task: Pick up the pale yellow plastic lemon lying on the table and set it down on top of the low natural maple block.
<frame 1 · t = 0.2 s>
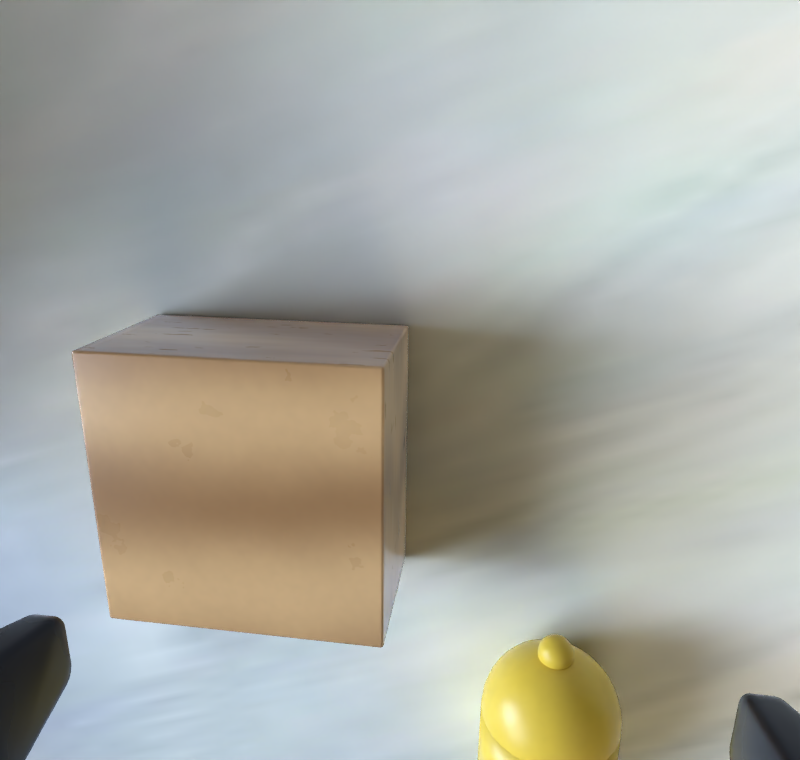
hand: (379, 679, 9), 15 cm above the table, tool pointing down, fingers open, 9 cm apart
maple block: (285, 440, 24), on the table
lemon: (542, 693, 26), on the table
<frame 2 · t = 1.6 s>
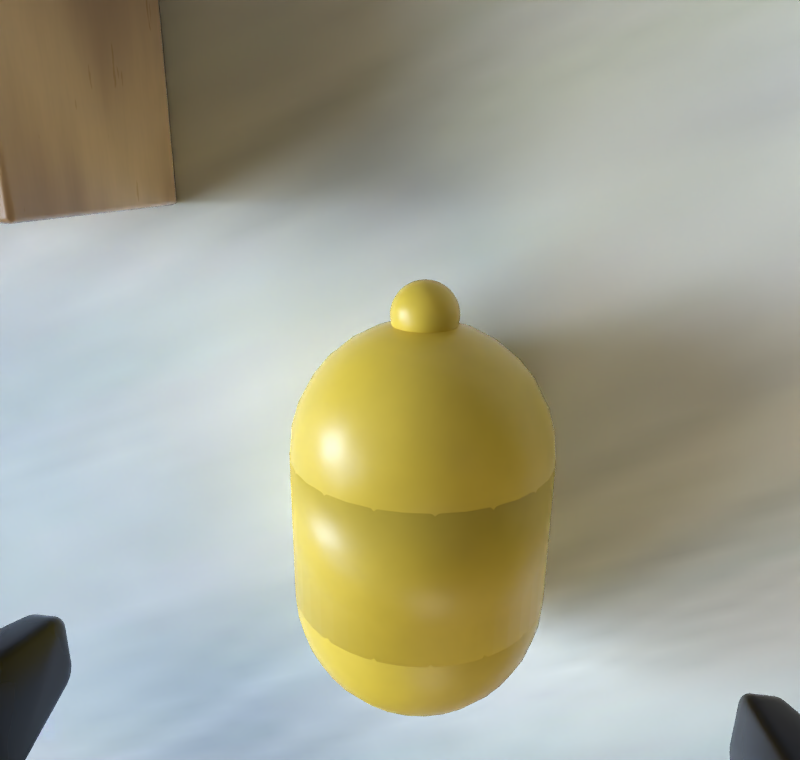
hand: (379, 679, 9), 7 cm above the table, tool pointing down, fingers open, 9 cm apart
lemon: (432, 462, 15), on the table
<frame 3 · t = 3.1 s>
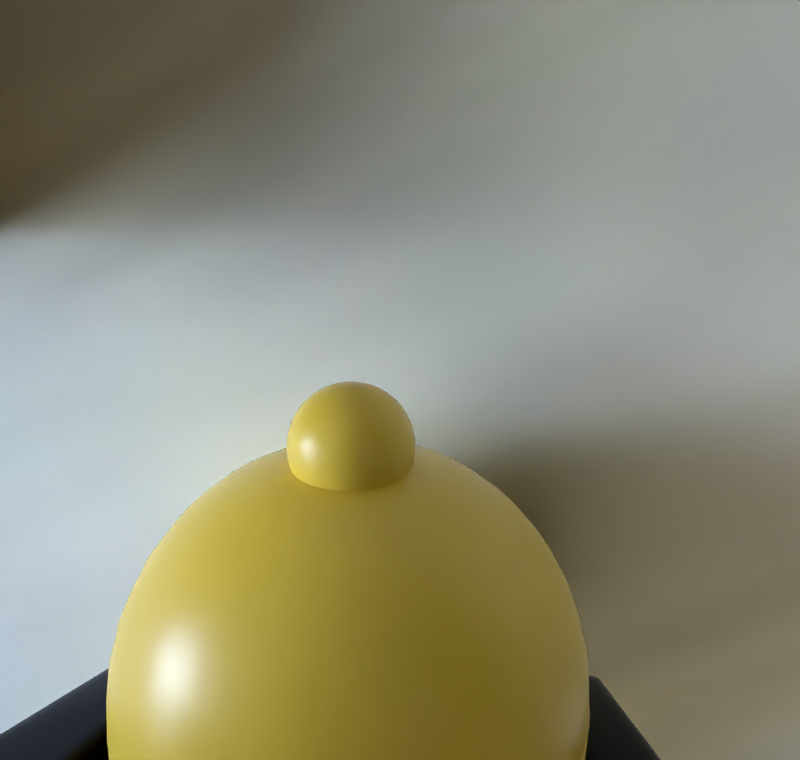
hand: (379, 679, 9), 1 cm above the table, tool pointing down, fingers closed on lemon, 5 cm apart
lemon: (389, 627, 10), on the table, touching gripper
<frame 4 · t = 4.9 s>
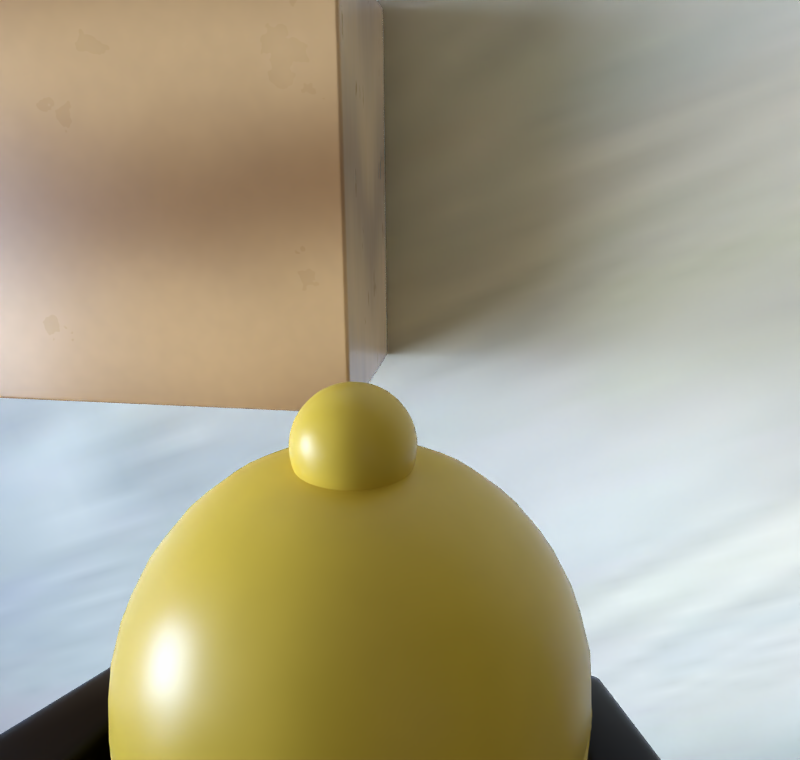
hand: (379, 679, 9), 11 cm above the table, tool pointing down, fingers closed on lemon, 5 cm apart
maple block: (226, 194, 18), on the table
lemon: (391, 627, 10), point 10 cm above the table, touching gripper
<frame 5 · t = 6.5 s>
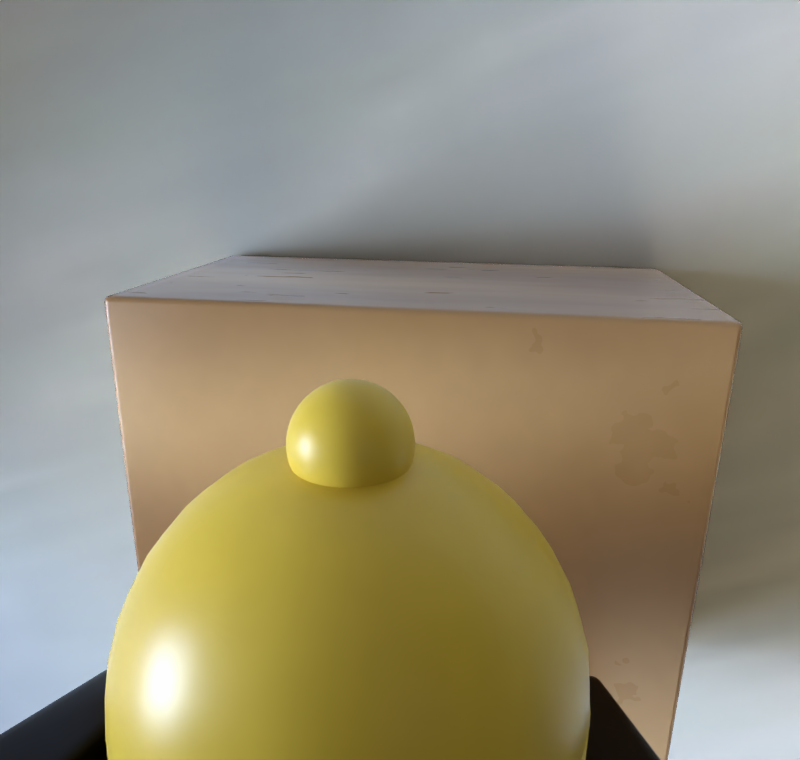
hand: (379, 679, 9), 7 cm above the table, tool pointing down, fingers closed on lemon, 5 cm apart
maple block: (430, 457, 15), on the table
lemon: (389, 626, 10), point 6 cm above the table, touching gripper
when the fingers open (6 cm above the table, at t = 7.2 s): lemon stays where it is, resting on maple block.
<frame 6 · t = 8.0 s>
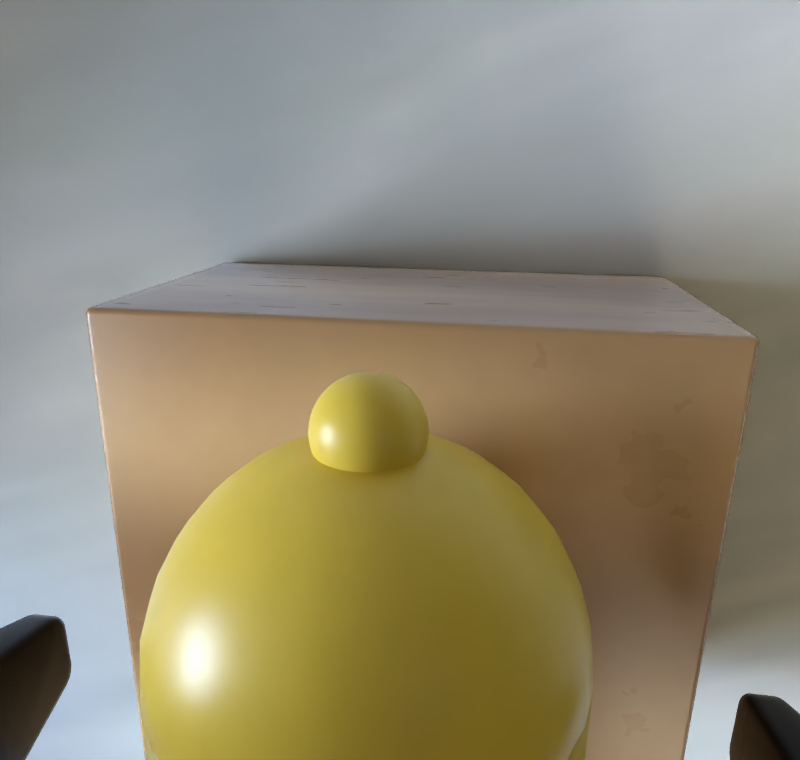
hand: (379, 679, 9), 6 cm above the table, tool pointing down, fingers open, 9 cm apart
maple block: (429, 471, 15), on the table, touching lemon
lemon: (396, 611, 10), point 5 cm above the table, touching maple block
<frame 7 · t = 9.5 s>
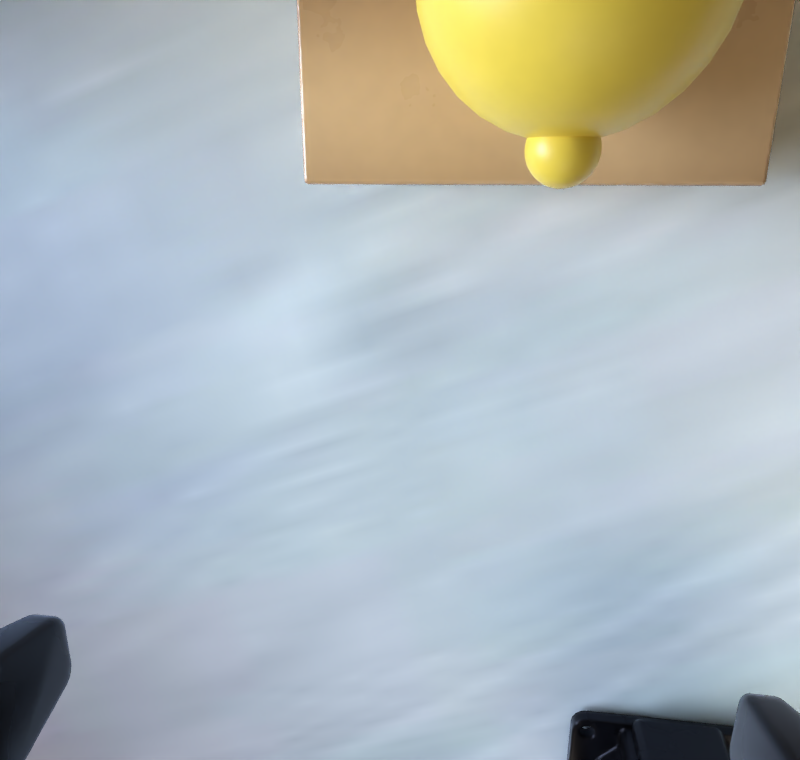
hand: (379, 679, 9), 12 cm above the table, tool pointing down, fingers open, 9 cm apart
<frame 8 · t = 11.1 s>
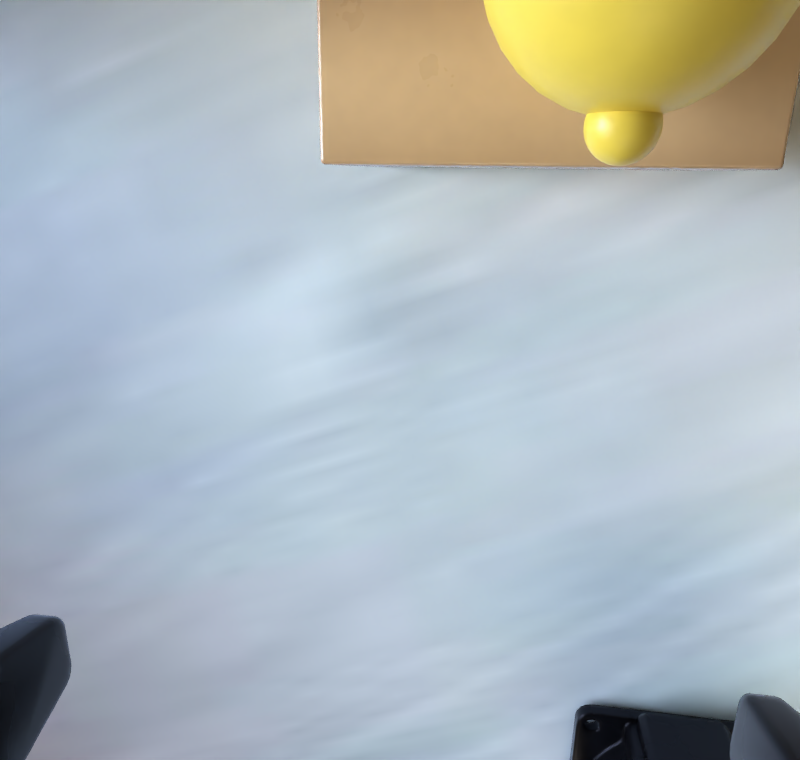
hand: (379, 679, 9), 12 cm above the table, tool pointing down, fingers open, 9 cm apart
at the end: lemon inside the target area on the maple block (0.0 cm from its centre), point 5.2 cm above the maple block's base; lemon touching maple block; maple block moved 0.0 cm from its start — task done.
